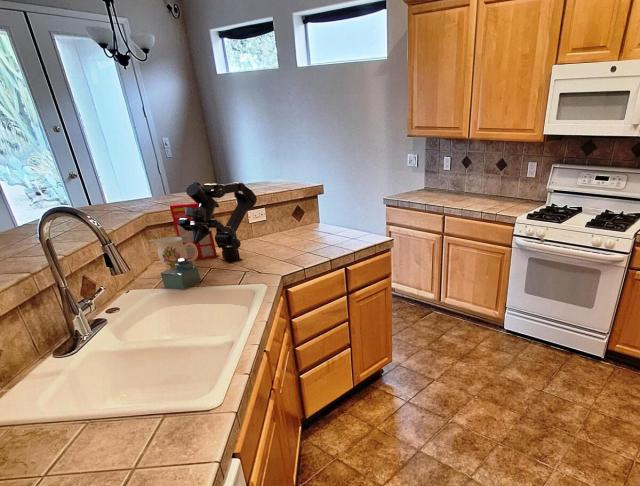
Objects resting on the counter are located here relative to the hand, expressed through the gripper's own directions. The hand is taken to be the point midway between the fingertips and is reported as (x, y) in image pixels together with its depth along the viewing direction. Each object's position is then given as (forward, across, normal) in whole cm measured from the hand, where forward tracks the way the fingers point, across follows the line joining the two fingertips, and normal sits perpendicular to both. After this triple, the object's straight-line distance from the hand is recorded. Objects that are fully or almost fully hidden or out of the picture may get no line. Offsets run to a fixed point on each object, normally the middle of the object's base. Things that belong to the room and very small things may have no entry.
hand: (195, 243), depth 175 cm
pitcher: (+6, -16, +13) cm, 21 cm away
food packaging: (-6, -18, +26) cm, 32 cm away
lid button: (+11, 0, -2) cm, 11 cm away
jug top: (+18, 0, +1) cm, 18 cm away
